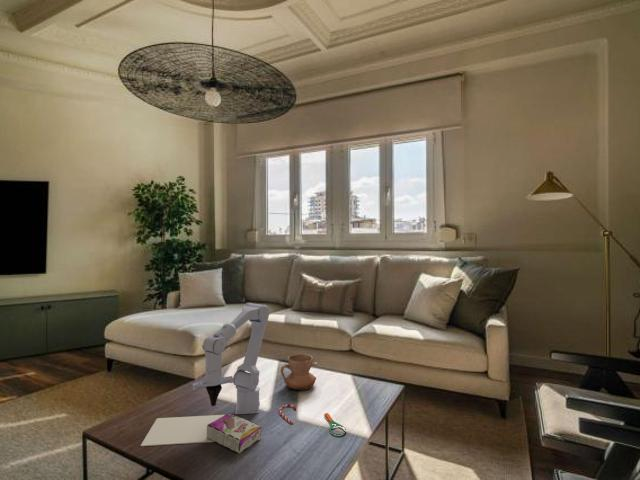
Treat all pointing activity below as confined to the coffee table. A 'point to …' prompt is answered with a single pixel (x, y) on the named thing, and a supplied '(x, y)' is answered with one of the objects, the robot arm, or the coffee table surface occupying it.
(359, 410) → the coffee table surface
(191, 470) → the coffee table surface
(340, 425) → the magnifying glass
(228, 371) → the coffee table surface
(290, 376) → the ceramic jug
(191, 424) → the mat
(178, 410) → the coffee table surface
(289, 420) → the candy cane
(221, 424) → the candy bar box
